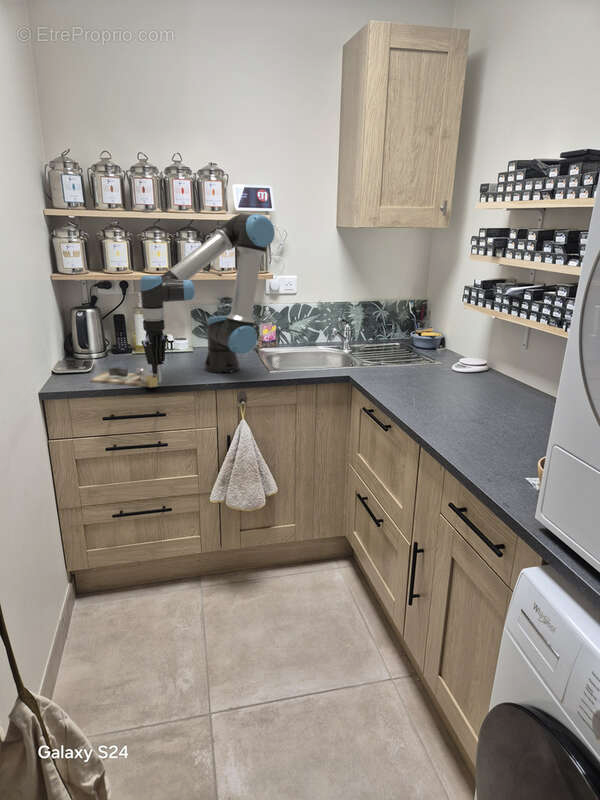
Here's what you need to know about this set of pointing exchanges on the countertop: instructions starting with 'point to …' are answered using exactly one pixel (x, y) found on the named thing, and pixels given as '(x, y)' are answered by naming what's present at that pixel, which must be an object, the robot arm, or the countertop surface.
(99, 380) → the keeper plate
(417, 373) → the countertop surface
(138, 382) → the jamb plate
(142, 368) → the swing bar
